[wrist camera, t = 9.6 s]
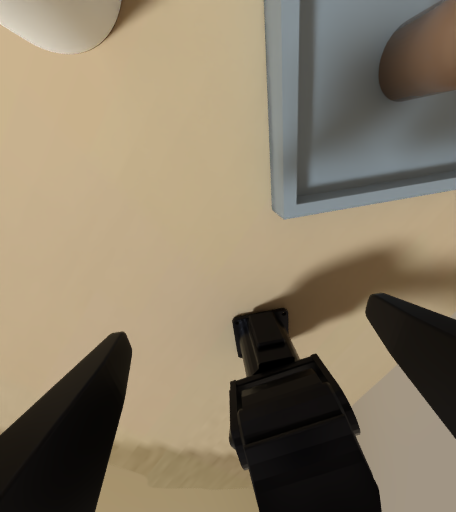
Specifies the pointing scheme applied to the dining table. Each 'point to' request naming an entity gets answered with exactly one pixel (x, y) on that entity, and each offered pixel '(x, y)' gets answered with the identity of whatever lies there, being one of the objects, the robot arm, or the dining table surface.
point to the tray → (348, 110)
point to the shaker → (421, 55)
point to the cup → (60, 22)
